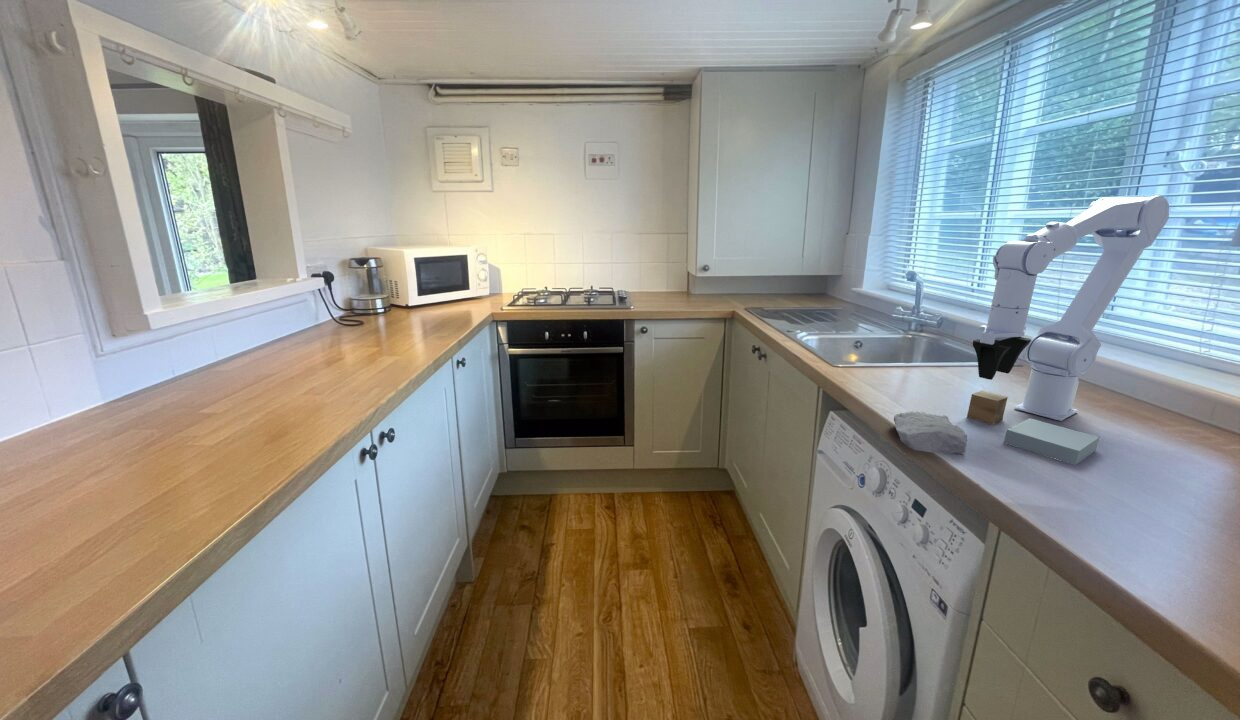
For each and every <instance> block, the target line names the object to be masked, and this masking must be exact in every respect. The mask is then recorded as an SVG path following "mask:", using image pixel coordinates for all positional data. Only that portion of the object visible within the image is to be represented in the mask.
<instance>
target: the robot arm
mask: <svg viewBox="0 0 1240 720" xmlns="http://www.w3.org/2000/svg"><path fill="white" fill-rule="evenodd" d="M1169 219H1170V204H1169V202H1168V200H1167V198H1166V197H1165V196H1163V195H1153V196H1137V197H1136V196H1135V197H1134V196H1131V197H1128V196H1127V197H1107V196H1105V197H1101V198H1099V199H1097V200H1096V201H1092V202H1091V203H1090V204H1089V206H1088V208H1087V210H1085V211H1083V212H1082V213H1080V214H1078V215H1077V216H1075V217H1073V218H1072V219H1071V220H1068V221H1067V222H1062V221H1060V222H1059V221H1050V222H1048V223H1046V224H1045V227H1043V228H1042V229H1040V230H1038V231H1035V232H1034V233H1029V234H1027V235H1025V237H1024V238H1022V239H1020V240H1010V241H1007V242H1006V243H1004V244H1002V245H1001V246H1000V247H999V248H998V249H997V251H996V253H995V255H993V257H992V264H993V267H994V275H993V276H994V279H995V281H996V282H995V287H994V292H993V297H992V301H991V305H990V309H989V310H990V311H989V314H988V315H989V316H988V319H987V324H986V325H985V324H983V325H979V326H978V327H979V328H978V330H980V331H983V332H981V336H980V339H979V338H977V339H973V341H972V346H973V350H974V351H975V354H976V358H977V369H978V371H977V372H978V378H980V379H985V380H991V381H992V380H993V379H994V378H995V376H996V374H997V372H998V373H1002V374H1008V375H1009V374H1010V372H1011V371H1012V369H1013V367H1014V366H1015V364H1016V361H1017V360H1018V359H1019V357H1020V354H1022V352H1023V351H1024V358H1025V359H1026V361H1027V362H1028V367H1030V368H1031V370H1030V375H1029V379H1028V382H1027V387H1026V390H1025V393H1024V394H1025V395H1024V399H1023V402H1022V403H1020V404H1017V405H1015V406H1014V409H1015V410H1016V411H1017V410H1018V411H1021V412H1026V413H1030V414H1033V415H1037V416H1041V417H1045V418H1048V419H1052V420H1055V421H1064V420H1066V419H1067V418H1069V417H1071V416H1072V415H1075V414H1076V413H1078V411H1079V410H1078V409H1076V408H1073V405H1074V403H1075V402H1074V401H1075V398H1076V395H1077V391H1078V387H1079V384H1080V383H1079V382H1080V381H1079V378H1078V377H1080V376H1083V375H1084V374H1085V373H1087V372H1088V371H1090V369H1092V368H1093V366H1094V364H1095V362H1096V360H1097V359H1096V358H1097V354H1098V352H1099V351H1100V348H1101V347H1102V344H1101V340H1100V339H1099V338H1098V337H1097V335H1096V334H1095V333H1094V332H1093V329H1094V328H1095V326H1096V325H1097V324H1098V322H1099V321H1100V319H1101V317H1102V316H1103V314H1104V313H1105V311H1106V309H1107V307H1108V306H1109V305H1110V303H1111V301H1112V300H1113V298H1114V297H1115V296H1116V295H1117V293H1118V291H1119V289H1120V288H1121V286H1122V285H1123V283H1124V281H1125V280H1126V278H1127V277H1128V275H1129V274H1130V272H1131V271H1132V269H1133V268H1134V266H1135V264H1136V263H1137V261H1139V259H1140V257H1141V255H1142V253H1143V252H1144V250H1145V249H1147V248H1150V247H1151V246H1153V245H1154V244H1153V243H1154V242H1155V241H1156V239H1157V238H1158V236H1159V235H1160V233H1161V231H1162V230H1163V229H1164V227H1165V225H1166V224H1167V222H1168V221H1169ZM1088 235H1092V236H1093V240H1094V242H1095V244H1096V245H1098V247H1099V246H1100V247H1102V248H1103V252H1102V254H1101V255H1100V257H1099V259H1098V260H1097V262H1096V263H1095V264H1094V266H1093V268H1092V269H1091V271H1090V272H1089V274H1088V276H1087V277H1086V278H1085V280H1084V282H1083V284H1081V287H1080V289H1078V291H1077V293H1076V294H1075V296H1074V298H1073V299H1072V301H1071V302H1070V304H1069V306H1068V307H1067V309H1066V310H1065V312H1064V313H1063V315H1062V317H1061V318H1060V320H1058V321H1056V322H1053V323H1050V324H1046V325H1044V326H1042V327H1041V328H1040V330H1039V331H1038V332H1037V334H1036V335H1034V336H1033V337H1032V338H1028V337H1024V336H1025V333H1026V329H1027V326H1026V323H1027V319H1028V315H1029V311H1030V306H1031V303H1032V298H1033V293H1034V290H1035V287H1036V286H1035V285H1036V281H1037V278H1038V274H1042V273H1043V272H1044V271H1046V269H1047V268H1048V267H1049V264H1050V263H1051V262H1052V261H1053V260H1054V259H1055V258H1057V257H1059V256H1061V255H1064V254H1065V253H1066V252H1068V251H1071V250H1072V249H1073V248H1075V247H1076V245H1077V244H1078V241H1079V240H1078V239H1081V238H1083V237H1085V236H1088Z"/></svg>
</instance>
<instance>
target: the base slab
mask: <svg viewBox="0 0 1240 720" xmlns="http://www.w3.org/2000/svg"><path fill="white" fill-rule="evenodd" d="M1099 441H1100V437H1099V436H1096V435H1092V434H1091V433H1090V434H1089V433H1085V432H1082V431H1078V430H1075V429H1070V428H1067V427H1064V426H1060V425H1056V424H1052V423H1050V422H1049V423H1048V422H1045V421H1041V420H1038V419H1035V418H1034V419H1033V418H1030V417H1029V418H1027V419H1025V420H1023V421H1020V422H1019V423H1018V424H1015V425H1013V426H1011V427H1009V428H1007V429H1006V431H1005V435H1004V440H1003V443H1004V444H1006V443H1007V444H1006V445H1009V444H1011V445H1010V446H1012V445H1014V446H1013V447H1016V446H1017V448H1019V447H1020V448H1019V449H1022V448H1023V449H1022V450H1025V449H1026V450H1025V451H1028V450H1029V451H1028V452H1031V451H1032V452H1031V453H1035V454H1039V455H1041V454H1042V455H1041V456H1044V455H1045V456H1044V457H1047V456H1048V457H1047V458H1050V457H1052V458H1051V459H1053V458H1056V459H1055V460H1057V459H1058V461H1060V460H1061V462H1063V461H1064V463H1066V462H1067V463H1066V464H1069V463H1070V464H1069V465H1072V464H1073V466H1076V465H1078V464H1079V463H1080V462H1082V461H1083V460H1085V459H1086V458H1087V457H1089V456H1090V455H1092V454H1093V453H1094V452H1096V450H1097V446H1098V443H1099Z"/></svg>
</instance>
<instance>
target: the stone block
mask: <svg viewBox="0 0 1240 720" xmlns="http://www.w3.org/2000/svg"><path fill="white" fill-rule="evenodd" d="M893 422H894V425H895V429H896V432H897V434H898V437H899V441H900V442H901V443H903V444H904V445H905V446H907V447H908V448H910V449H912V450H914V451H920V452H925V453H938V454H940V453H943V454H948V455H949V454H950V455H953V454H956V455H964V454H965V453H966V449H967V443H968V434H967V433H966V431H965V430H964V429H963V428H961V427H960V426H959V425H954V424H952V422H951V421H950V419H949V417H948V416H947V415H945V414H943V415H939V414H938V415H937V414H932V413H927V412H923V411H921V412H920V411H906V412H900V413H897V414H895V415H894V416H893Z"/></svg>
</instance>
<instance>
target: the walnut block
mask: <svg viewBox="0 0 1240 720" xmlns="http://www.w3.org/2000/svg"><path fill="white" fill-rule="evenodd" d="M1008 397H1009V396H1006V395H1002V394H998V393H994V392H991V391H986V390H980V391H976V392H974V393H972V394H971V397H970V400H969V405H968V410H967V415H966V418H969V419H972V420H975V421H979V422H982V423H986V424H988V425H994V424H996V423H999V422H1001V421H1003V418H1004V414H1005V410H1006V405H1007V401H1008Z"/></svg>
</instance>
